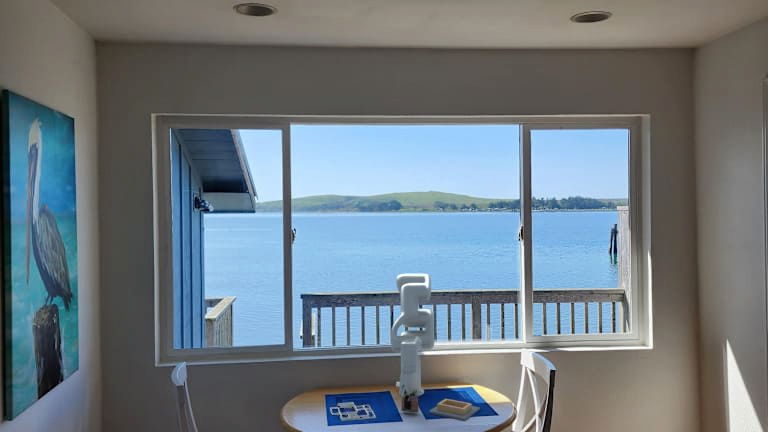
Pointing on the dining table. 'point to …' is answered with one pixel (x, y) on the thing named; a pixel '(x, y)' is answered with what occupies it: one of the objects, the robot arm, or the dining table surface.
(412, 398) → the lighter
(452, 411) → the tan recessed tray
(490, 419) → the dining table surface
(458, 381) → the dining table surface
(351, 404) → the floor plan model
